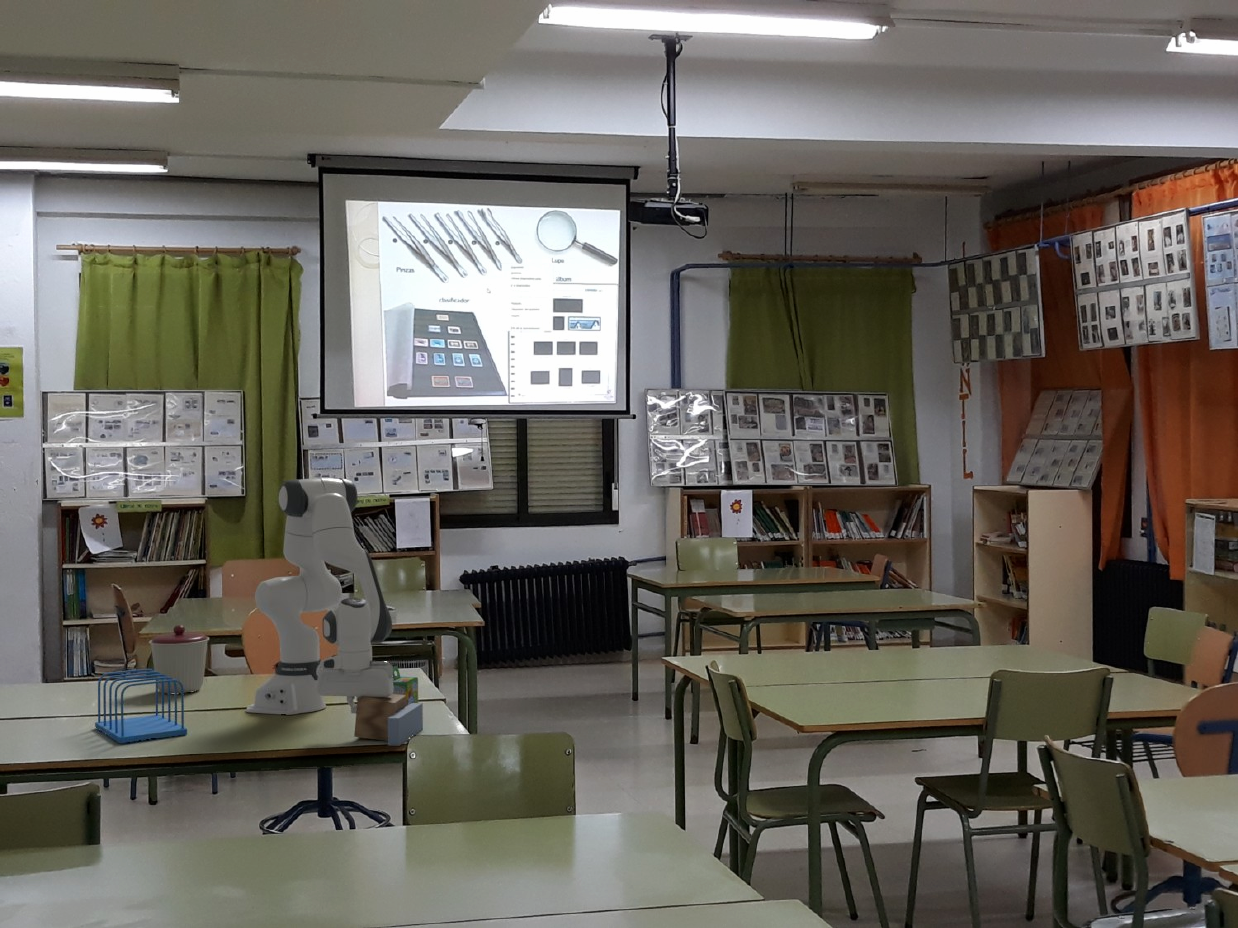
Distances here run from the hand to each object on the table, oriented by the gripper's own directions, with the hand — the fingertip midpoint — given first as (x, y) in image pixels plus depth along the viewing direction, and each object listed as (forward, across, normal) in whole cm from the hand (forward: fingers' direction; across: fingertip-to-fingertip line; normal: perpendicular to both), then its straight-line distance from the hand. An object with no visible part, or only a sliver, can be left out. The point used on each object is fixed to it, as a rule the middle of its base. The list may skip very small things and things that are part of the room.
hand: (355, 712), depth 327 cm
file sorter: (+7, +61, +2) cm, 61 cm away
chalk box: (+6, -4, -20) cm, 22 cm away
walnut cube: (+6, -6, 0) cm, 8 cm away
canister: (+7, +80, -53) cm, 97 cm away
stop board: (+6, -14, -1) cm, 15 cm away
